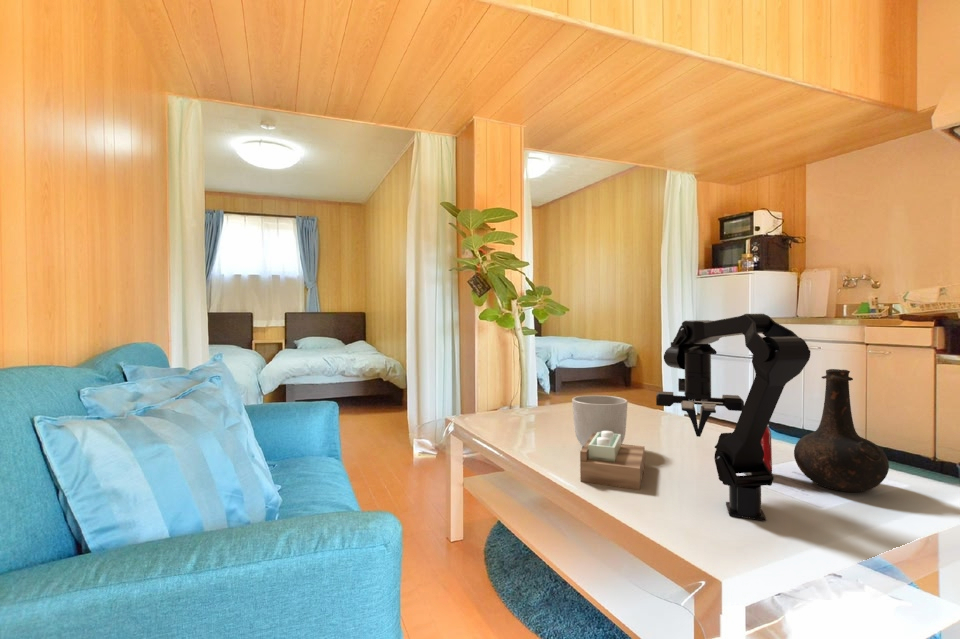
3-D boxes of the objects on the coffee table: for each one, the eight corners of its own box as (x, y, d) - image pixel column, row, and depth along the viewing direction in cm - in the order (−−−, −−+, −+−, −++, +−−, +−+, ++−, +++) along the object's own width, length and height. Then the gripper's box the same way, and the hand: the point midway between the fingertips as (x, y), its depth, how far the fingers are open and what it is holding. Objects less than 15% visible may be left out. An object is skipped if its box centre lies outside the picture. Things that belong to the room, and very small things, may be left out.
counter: (639, 489, 105) (639, 458, 105) (580, 481, 111) (580, 451, 111) (644, 464, 123) (644, 437, 123) (593, 458, 129) (593, 432, 129)
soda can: (777, 479, 111) (776, 427, 111) (745, 477, 112) (745, 426, 113) (765, 470, 118) (764, 421, 118) (735, 468, 119) (735, 420, 119)
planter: (595, 458, 129) (595, 406, 129) (561, 444, 144) (561, 397, 144) (640, 451, 136) (639, 401, 136) (603, 438, 151) (603, 393, 151)
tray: (614, 461, 110) (614, 443, 110) (588, 458, 113) (588, 440, 113) (621, 446, 123) (620, 430, 123) (597, 444, 126) (597, 428, 126)
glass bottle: (843, 503, 96) (841, 375, 96) (776, 475, 114) (775, 366, 114) (911, 497, 99) (910, 372, 99) (835, 471, 117) (834, 365, 117)
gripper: (737, 369, 111) (738, 432, 111) (657, 367, 118) (657, 425, 118) (744, 375, 101) (744, 443, 101) (655, 371, 108) (656, 435, 108)
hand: (698, 436), depth 107 cm, fingers closed
